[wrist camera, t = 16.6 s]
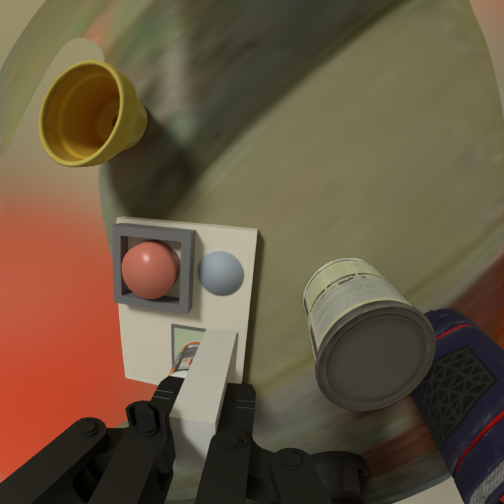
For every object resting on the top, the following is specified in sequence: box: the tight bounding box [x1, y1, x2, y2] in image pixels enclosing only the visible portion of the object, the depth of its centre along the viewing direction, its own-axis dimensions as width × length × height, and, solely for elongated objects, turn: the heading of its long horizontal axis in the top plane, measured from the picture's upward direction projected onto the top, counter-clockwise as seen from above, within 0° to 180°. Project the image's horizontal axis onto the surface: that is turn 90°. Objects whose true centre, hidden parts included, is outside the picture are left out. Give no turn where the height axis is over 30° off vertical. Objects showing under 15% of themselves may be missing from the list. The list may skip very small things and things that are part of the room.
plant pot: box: [39, 60, 147, 167], centre depth 28 cm, size 10×10×10 cm
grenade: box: [410, 309, 504, 504], centre depth 23 cm, size 14×12×30 cm
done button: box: [122, 240, 180, 299], centre depth 34 cm, size 6×6×2 cm
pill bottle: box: [168, 340, 201, 378], centre depth 33 cm, size 6×6×10 cm
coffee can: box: [303, 258, 436, 411], centre depth 29 cm, size 10×10×14 cm
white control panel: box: [113, 216, 258, 385], centre depth 36 cm, size 22×16×4 cm
